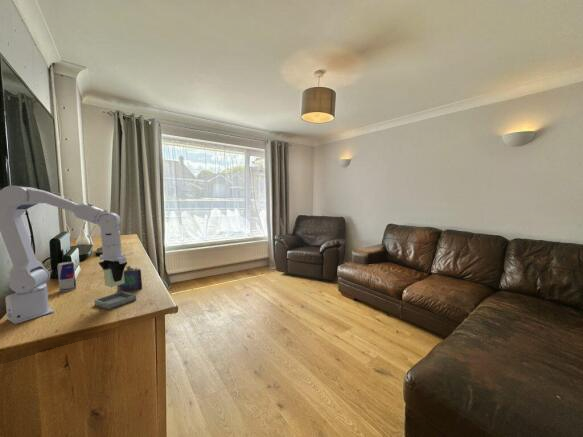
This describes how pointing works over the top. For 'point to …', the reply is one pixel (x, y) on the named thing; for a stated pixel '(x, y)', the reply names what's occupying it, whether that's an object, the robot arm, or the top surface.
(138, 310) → the top surface
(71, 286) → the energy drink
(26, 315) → the robot arm
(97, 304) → the dish
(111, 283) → the green block
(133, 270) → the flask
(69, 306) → the top surface
